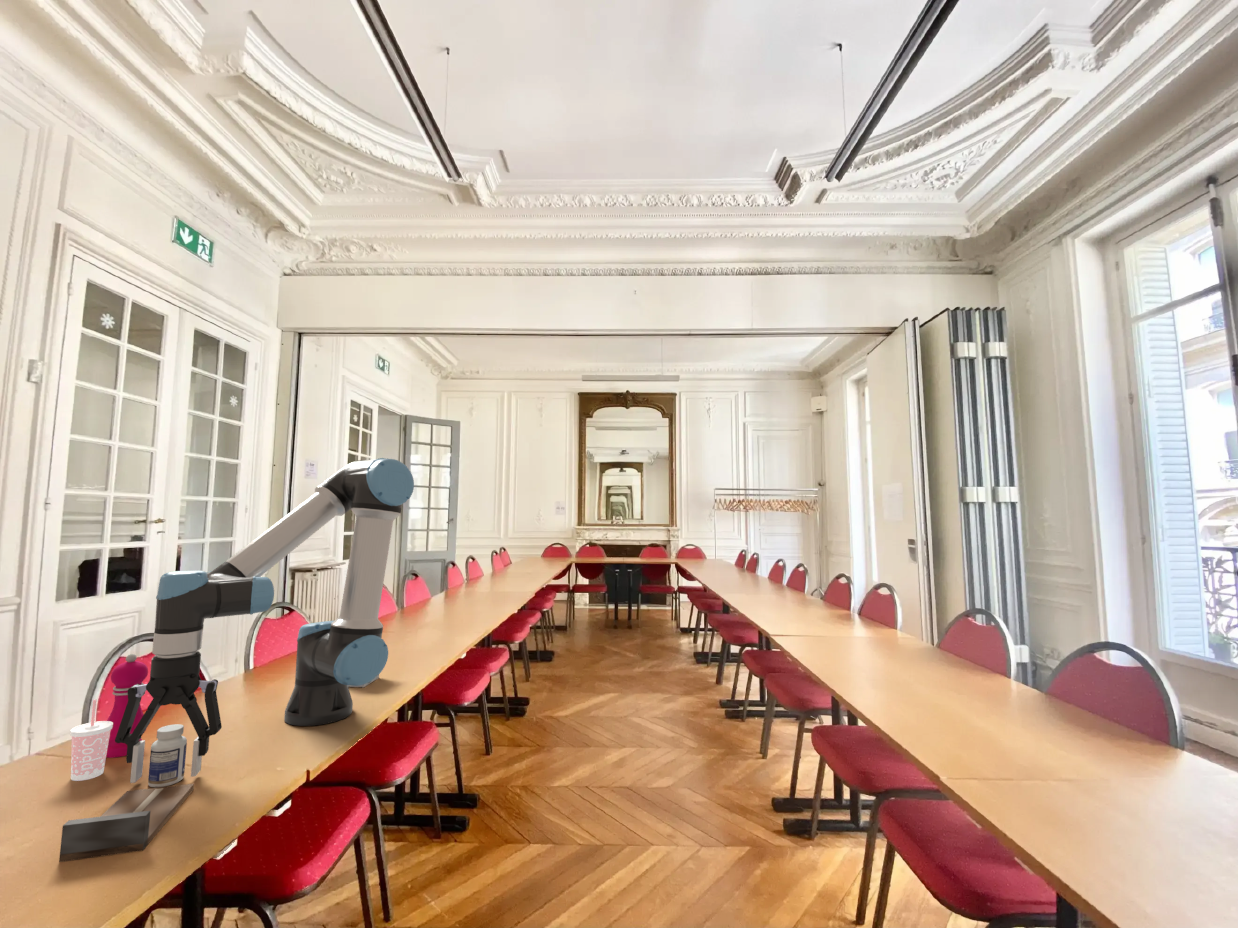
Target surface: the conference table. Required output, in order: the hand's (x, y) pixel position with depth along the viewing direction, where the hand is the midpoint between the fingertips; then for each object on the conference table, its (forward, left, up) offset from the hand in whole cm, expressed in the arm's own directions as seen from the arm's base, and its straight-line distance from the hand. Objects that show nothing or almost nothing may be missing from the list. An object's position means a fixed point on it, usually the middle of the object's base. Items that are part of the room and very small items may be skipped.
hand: (166, 776), depth 108 cm
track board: (-1, +15, -1) cm, 15 cm away
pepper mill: (+14, -18, -1) cm, 23 cm away
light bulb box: (-28, -59, -1) cm, 65 cm away
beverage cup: (+15, -7, -1) cm, 17 cm away
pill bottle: (0, 0, -1) cm, 1 cm away
